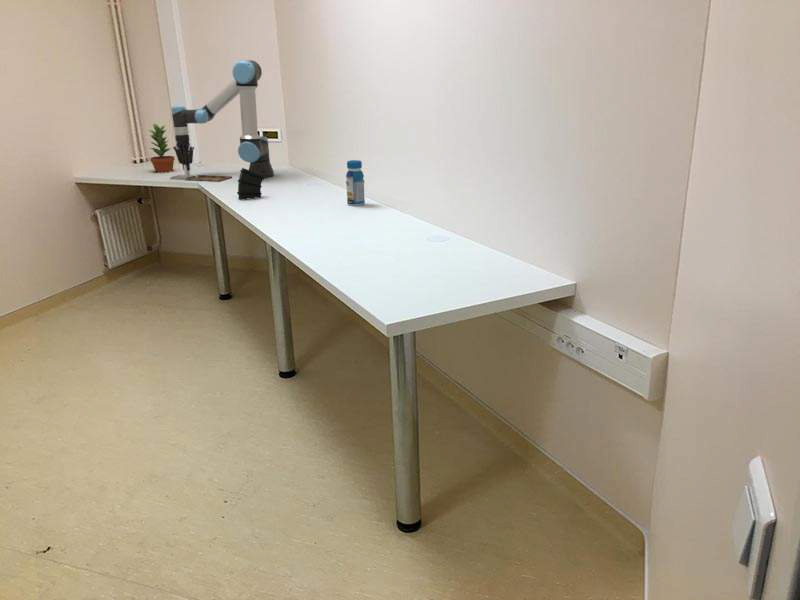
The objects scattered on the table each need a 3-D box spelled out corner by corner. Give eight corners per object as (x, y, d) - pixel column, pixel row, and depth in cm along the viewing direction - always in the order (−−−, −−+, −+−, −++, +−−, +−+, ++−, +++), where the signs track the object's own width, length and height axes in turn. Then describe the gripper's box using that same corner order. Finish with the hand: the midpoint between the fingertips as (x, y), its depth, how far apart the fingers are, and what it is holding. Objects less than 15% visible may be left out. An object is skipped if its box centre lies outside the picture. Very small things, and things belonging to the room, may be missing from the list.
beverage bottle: (362, 206, 286) (361, 162, 279) (345, 206, 288) (342, 162, 281) (366, 202, 294) (365, 159, 287) (349, 202, 296) (347, 159, 288)
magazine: (231, 196, 306) (241, 167, 304) (255, 204, 314) (265, 176, 313) (234, 197, 303) (243, 168, 302) (258, 205, 311) (268, 177, 310)
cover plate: (196, 179, 367) (195, 175, 366) (186, 182, 359) (186, 178, 358) (180, 179, 371) (179, 174, 370) (170, 181, 363) (170, 177, 362)
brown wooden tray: (232, 179, 362) (232, 176, 361) (219, 183, 350) (219, 180, 349) (199, 178, 369) (198, 174, 368) (185, 182, 357) (184, 178, 356)
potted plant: (165, 174, 386) (157, 124, 376) (147, 172, 392) (139, 123, 382) (182, 170, 399) (175, 122, 388) (165, 169, 405) (157, 121, 394)
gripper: (168, 134, 353) (174, 176, 361) (187, 135, 349) (193, 177, 358) (176, 133, 360) (182, 174, 368) (195, 133, 356) (200, 175, 364)
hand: (187, 175), depth 363 cm, fingers closed
